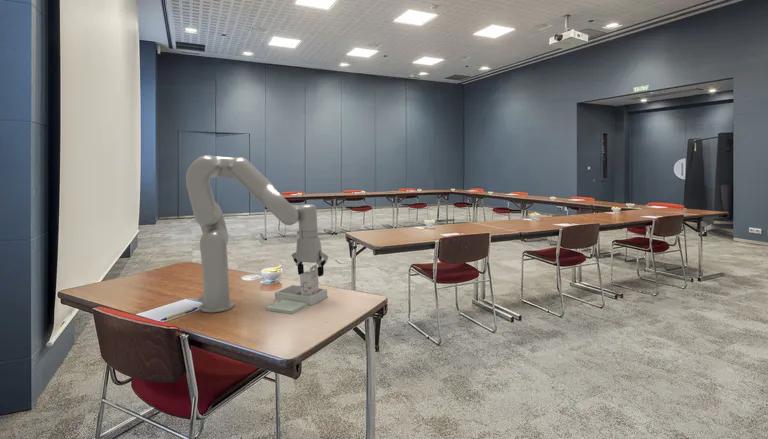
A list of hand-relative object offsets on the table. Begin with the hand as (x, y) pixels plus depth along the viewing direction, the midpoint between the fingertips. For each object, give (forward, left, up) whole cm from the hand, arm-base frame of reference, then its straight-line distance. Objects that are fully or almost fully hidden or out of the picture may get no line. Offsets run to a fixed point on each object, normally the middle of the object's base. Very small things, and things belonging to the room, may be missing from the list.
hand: (310, 274), depth 180 cm
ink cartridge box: (-1, 0, -11) cm, 11 cm away
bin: (-5, 0, -11) cm, 12 cm away
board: (-3, -13, -11) cm, 17 cm away
